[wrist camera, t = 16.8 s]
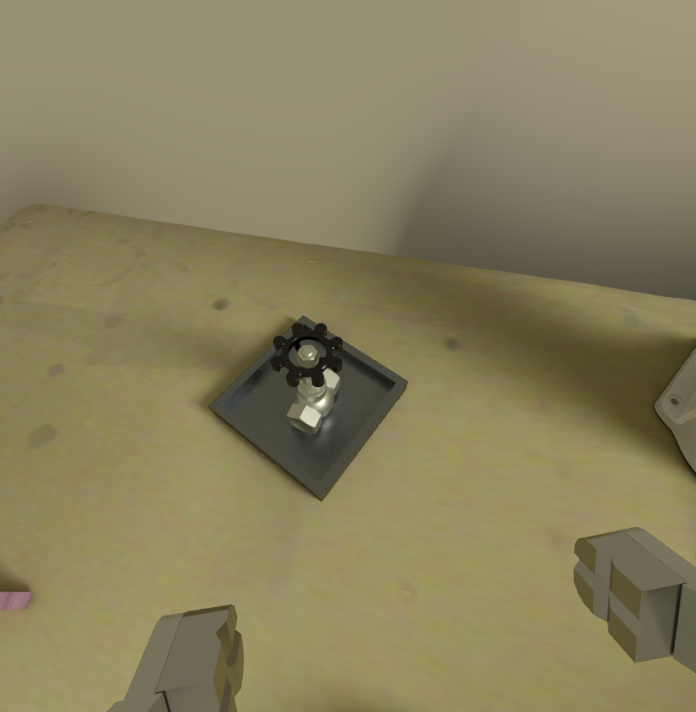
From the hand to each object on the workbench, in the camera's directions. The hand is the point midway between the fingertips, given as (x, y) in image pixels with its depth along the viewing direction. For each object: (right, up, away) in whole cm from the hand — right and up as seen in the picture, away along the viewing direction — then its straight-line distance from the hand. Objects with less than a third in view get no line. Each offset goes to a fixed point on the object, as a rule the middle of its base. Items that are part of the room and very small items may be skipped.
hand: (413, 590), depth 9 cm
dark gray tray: (-6, 0, +35) cm, 35 cm away
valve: (-5, -1, +34) cm, 34 cm away
